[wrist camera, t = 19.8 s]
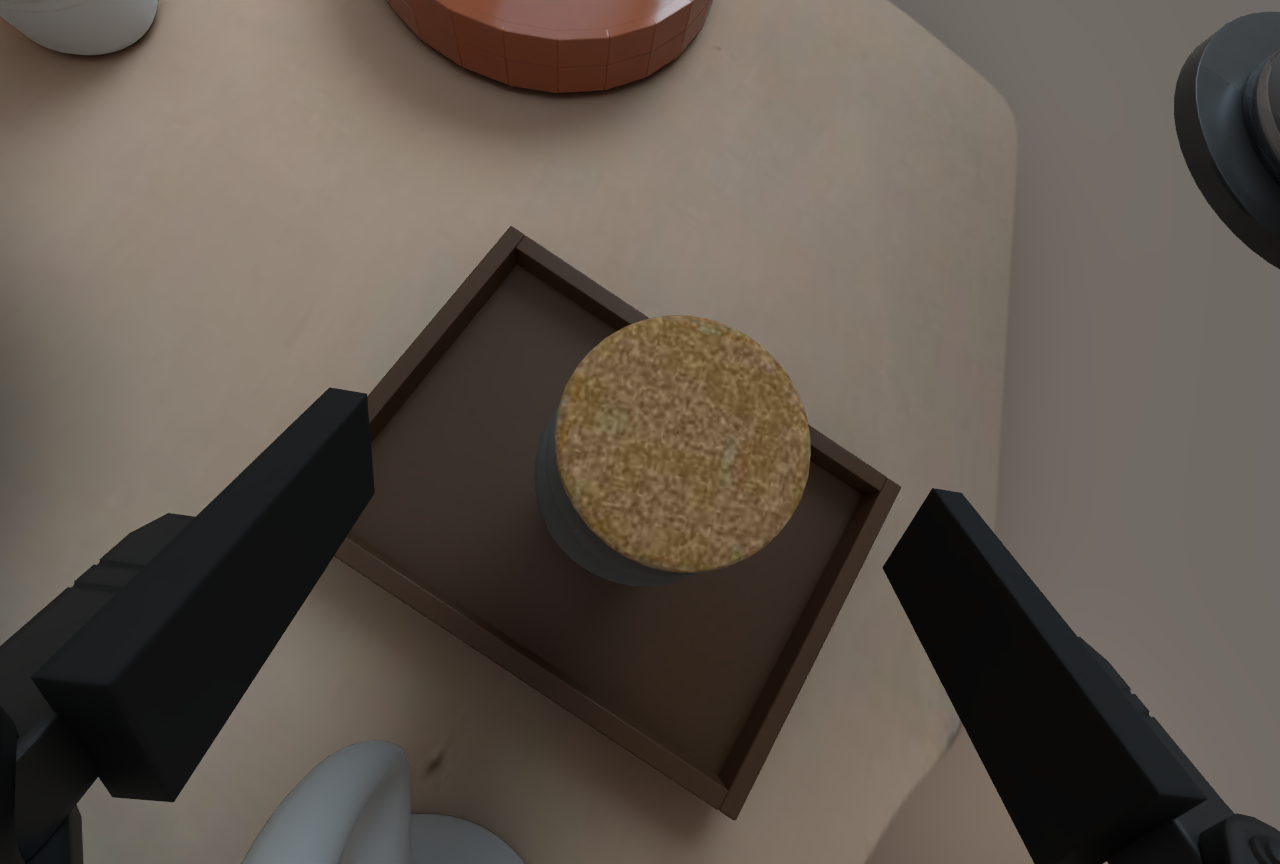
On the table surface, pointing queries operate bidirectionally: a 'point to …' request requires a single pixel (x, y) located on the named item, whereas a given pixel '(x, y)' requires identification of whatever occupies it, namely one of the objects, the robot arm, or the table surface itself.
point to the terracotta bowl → (557, 38)
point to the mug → (368, 818)
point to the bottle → (672, 453)
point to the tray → (555, 584)
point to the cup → (81, 23)
